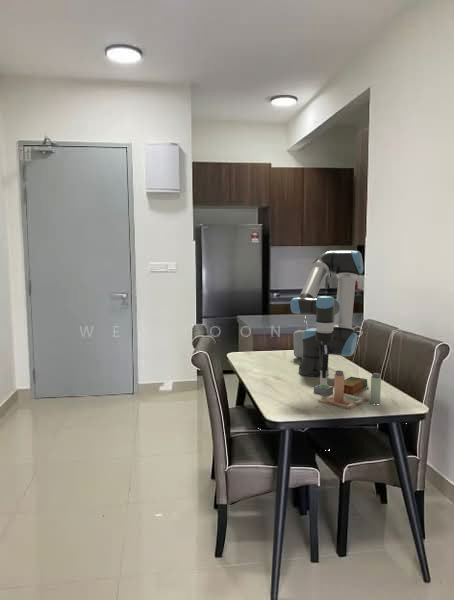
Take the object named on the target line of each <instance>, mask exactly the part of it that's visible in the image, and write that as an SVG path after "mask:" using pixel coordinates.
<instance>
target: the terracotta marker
mask: <svg viewBox="0 0 454 600" xmlns="http://www.w3.org/2000/svg"><path fill="white" fill-rule="evenodd" d="M344 380H345V374H344V371H343V370H335V374H334V386H333V394H334V401H335V402H338V403H342V402H344Z"/></svg>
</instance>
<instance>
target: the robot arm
mask: <svg viewBox="0 0 454 600" xmlns="http://www.w3.org/2000/svg"><path fill="white" fill-rule="evenodd" d="M363 272H364V261H363V256H362V252H360V251H359V250H329V251H326V252H323V253H322V254H320V255H319V256H318V257H316V258H315V259H314V261H313V262H312V264H311V266H310V272H309V275H308V277H307V279H306V282H305V284H304V286H303V288H302V290H301V291H300V294H299V296H297V297H293V298H292V299H291V300H290V311H291V313H292V314H296V315H311V316H312V315H315V323H314V327H313V328H311V329H306V330H304V331H303V338H302V358H301V361H300V364H299V366H298V373H299V374H300V375H303V376H306V377H316V378H317V377H319V383H320V384H319V385H328V375H329V374H330V373H329V355H331V356H342V357H351V356H353V355H354V353H355V351H356V348H357V345H358V344H357V343H358V334H357V333H356V332H355V329H354V328H353V326H352V325H353V324H352V323H353V315H354V314H353V313H354V302H355V291H356V282H357V281H356V280H358V279H359V278H360V275H362V274H363ZM329 274H335V277H336V279H338V280H337V291H336V298H334V296H328V295H319V296H318V294H319V291H320V289H321V287H322V284H323V282H324V280H325V278H326V277H327V276H328V275H329Z"/></svg>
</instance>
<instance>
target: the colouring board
mask: <svg viewBox="0 0 454 600" xmlns="http://www.w3.org/2000/svg"><path fill="white" fill-rule="evenodd" d="M368 401H370V400H369V398H365V397H361V396H357V395H355V394H354V395H350V394H345V393H344V402H342V403H338V402H335V401H334V393H333V394H331V395H328V396H325V397H323V398H321V399H319V400H318V403H322V404H326V405H329V406H334V407H337V408H342V409H345V410H352V409H353V408H355V407H358V406H360V405H361V404H363V403H366V402H368Z"/></svg>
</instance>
